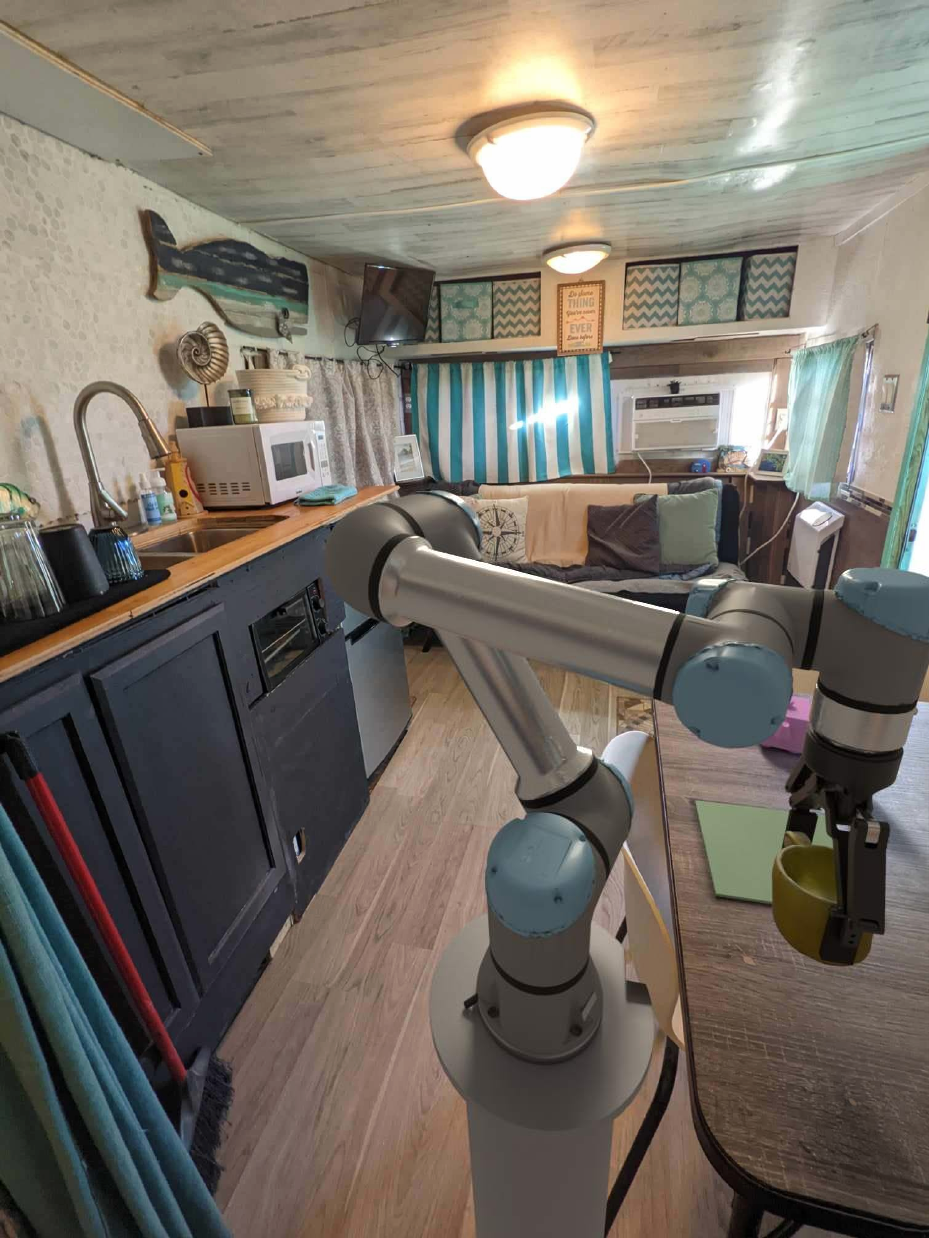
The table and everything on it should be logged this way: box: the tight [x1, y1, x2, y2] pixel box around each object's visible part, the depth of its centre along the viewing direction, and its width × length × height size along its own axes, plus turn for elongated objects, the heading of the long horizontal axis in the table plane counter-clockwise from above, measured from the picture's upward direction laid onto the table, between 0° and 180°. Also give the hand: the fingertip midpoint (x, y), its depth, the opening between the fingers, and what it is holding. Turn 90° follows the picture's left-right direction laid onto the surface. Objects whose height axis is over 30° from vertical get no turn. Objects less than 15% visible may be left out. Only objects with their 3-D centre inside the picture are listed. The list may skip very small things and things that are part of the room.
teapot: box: [760, 695, 812, 755], centre depth 108 cm, size 18×13×10 cm
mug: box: [771, 831, 875, 968], centre depth 58 cm, size 12×10×10 cm
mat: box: [694, 800, 833, 905], centre depth 84 cm, size 20×20×1 cm
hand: (812, 903), depth 59 cm, fingers closed on mug, 12 cm apart
